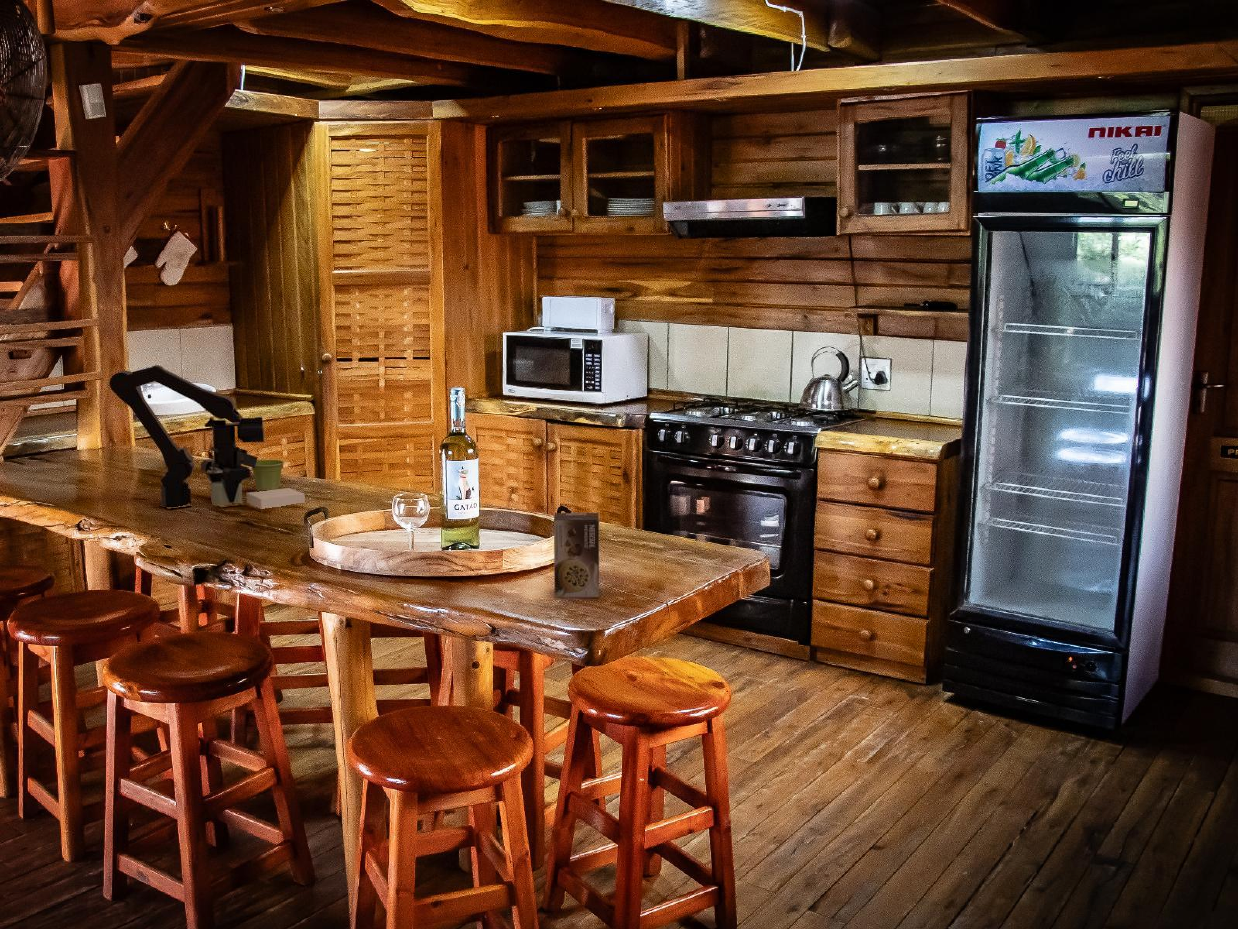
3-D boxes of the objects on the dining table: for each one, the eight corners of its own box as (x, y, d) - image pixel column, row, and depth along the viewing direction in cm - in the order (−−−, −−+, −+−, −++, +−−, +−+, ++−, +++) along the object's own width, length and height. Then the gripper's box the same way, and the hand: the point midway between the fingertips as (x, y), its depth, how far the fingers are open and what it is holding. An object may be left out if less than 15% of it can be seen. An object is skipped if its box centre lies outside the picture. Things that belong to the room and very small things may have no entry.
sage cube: (220, 508, 316) (219, 486, 315) (211, 504, 320) (210, 482, 319) (242, 505, 320) (241, 483, 319) (232, 501, 324) (232, 480, 323)
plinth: (261, 514, 312) (261, 499, 311) (247, 507, 319) (246, 492, 319) (305, 508, 319) (304, 493, 318) (289, 502, 327) (289, 488, 326)
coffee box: (598, 589, 243) (599, 512, 241) (599, 598, 237) (600, 519, 234) (553, 589, 243) (554, 511, 240) (553, 598, 237) (553, 518, 234)
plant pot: (292, 491, 340) (291, 461, 338) (266, 496, 332) (265, 466, 330) (269, 488, 344) (268, 458, 343) (243, 493, 337) (242, 462, 335)
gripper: (268, 444, 315) (270, 502, 318) (238, 436, 329) (240, 491, 332) (227, 448, 308) (230, 507, 311) (198, 439, 322) (201, 496, 324)
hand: (226, 500), depth 320 cm, fingers closed on sage cube, 6 cm apart
